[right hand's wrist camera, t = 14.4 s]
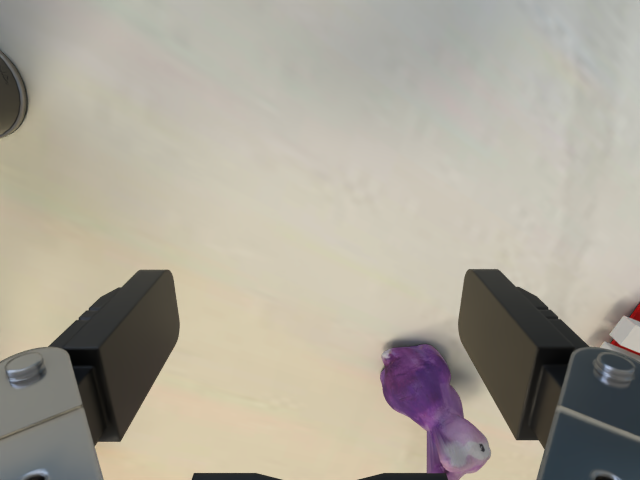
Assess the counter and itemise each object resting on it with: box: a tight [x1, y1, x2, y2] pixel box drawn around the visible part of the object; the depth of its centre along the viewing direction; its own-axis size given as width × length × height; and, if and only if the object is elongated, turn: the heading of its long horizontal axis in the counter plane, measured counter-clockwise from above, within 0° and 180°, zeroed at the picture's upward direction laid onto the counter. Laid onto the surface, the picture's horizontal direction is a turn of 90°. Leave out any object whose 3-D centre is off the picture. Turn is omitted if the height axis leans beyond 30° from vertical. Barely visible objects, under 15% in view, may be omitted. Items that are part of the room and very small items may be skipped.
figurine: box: [380, 344, 491, 480], centre depth 43 cm, size 9×10×15 cm
